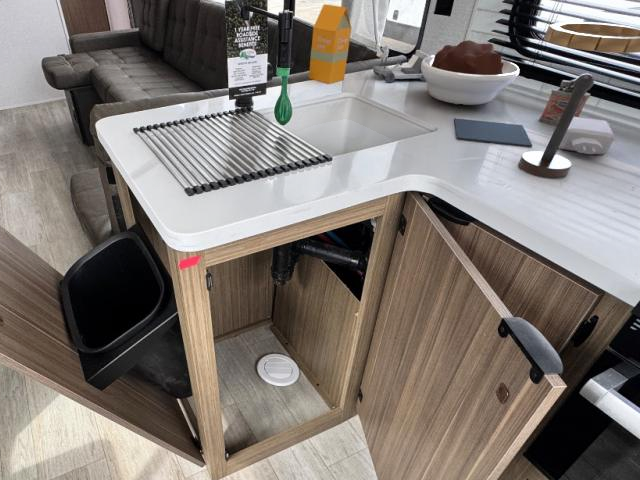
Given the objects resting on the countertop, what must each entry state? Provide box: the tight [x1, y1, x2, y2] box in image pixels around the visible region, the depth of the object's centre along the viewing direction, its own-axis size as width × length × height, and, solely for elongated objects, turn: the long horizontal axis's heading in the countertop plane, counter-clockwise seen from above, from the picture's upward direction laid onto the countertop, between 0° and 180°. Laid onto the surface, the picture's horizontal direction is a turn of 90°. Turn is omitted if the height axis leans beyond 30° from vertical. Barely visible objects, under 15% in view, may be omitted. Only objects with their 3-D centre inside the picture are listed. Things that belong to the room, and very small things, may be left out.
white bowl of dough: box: [421, 39, 520, 106], centre depth 120 cm, size 25×25×15 cm
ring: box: [544, 21, 640, 54], centre depth 75 cm, size 19×16×2 cm
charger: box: [559, 116, 616, 155], centre depth 96 cm, size 5×9×15 cm
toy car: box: [372, 44, 431, 84], centre depth 140 cm, size 18×10×12 cm
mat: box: [453, 117, 533, 148], centre depth 105 cm, size 16×14×1 cm
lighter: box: [538, 78, 591, 126], centre depth 108 cm, size 8×3×10 cm, turn 55°
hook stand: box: [517, 73, 595, 179], centre depth 84 cm, size 9×9×18 cm
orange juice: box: [308, 4, 352, 85], centre depth 135 cm, size 8×9×20 cm
